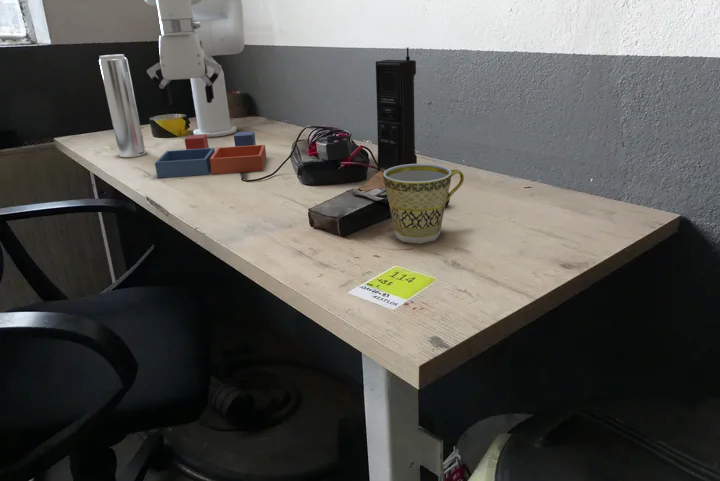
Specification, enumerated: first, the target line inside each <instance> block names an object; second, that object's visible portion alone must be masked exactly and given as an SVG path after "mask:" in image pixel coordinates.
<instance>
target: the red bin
mask: <svg viewBox="0 0 720 481" xmlns="http://www.w3.org/2000/svg"><path fill="white" fill-rule="evenodd" d="M266 161H267V152H266V144H256V145H251V146H235V145H234V146H223V147H221V146H220V147H217V148H216V149H215V152H214V154H213V155H212V157H211V158H210V163H211V174H212V175H221V174H236V173H238V174H239V173H251V172H263V171H264V168H265V165H266Z"/></svg>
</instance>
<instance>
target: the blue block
mask: <svg viewBox="0 0 720 481" xmlns="http://www.w3.org/2000/svg"><path fill="white" fill-rule="evenodd" d="M233 141H234V147H235V146H251V145H257V143H256V135H255V131H254V130H251V131H236V132H235V133H234V135H233Z"/></svg>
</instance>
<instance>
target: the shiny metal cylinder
mask: <svg viewBox="0 0 720 481" xmlns="http://www.w3.org/2000/svg"><path fill="white" fill-rule="evenodd" d="M98 62H99V65H100V66H99V67H100V72H101V75H102V80H103V81H102V82H103V85H104V92H105V94H106V101H107V104H108V108H109V109H108V110H109V114H110V119H111V123H112V127H113V128H112V129H113V133H114V137H115V142H116V146H117V151H118V155H119V157H120V158H136V157H140V156H143V155H145V154H146V148H145V142H144V138H143V133H142V127H141V122H140V117H139V112H138V106H137V103H136V96H135V91H134V86H133V80H132V76H131V71H130V66H129V61H128V57H125V54H124V53H123V54H122V53H121V54H119V53H118V54H104V55H99V60H98Z"/></svg>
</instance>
